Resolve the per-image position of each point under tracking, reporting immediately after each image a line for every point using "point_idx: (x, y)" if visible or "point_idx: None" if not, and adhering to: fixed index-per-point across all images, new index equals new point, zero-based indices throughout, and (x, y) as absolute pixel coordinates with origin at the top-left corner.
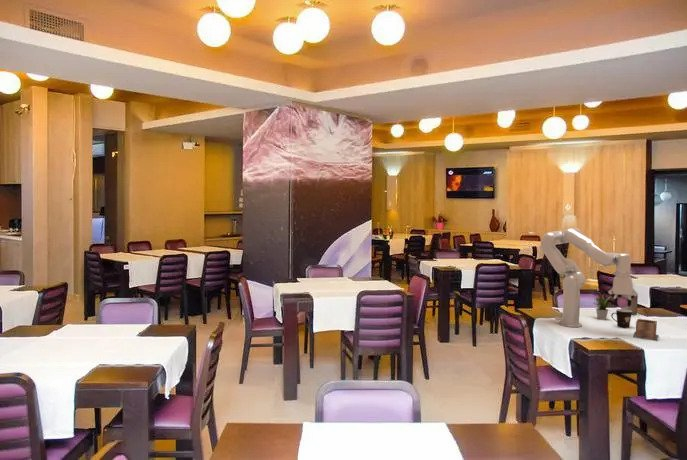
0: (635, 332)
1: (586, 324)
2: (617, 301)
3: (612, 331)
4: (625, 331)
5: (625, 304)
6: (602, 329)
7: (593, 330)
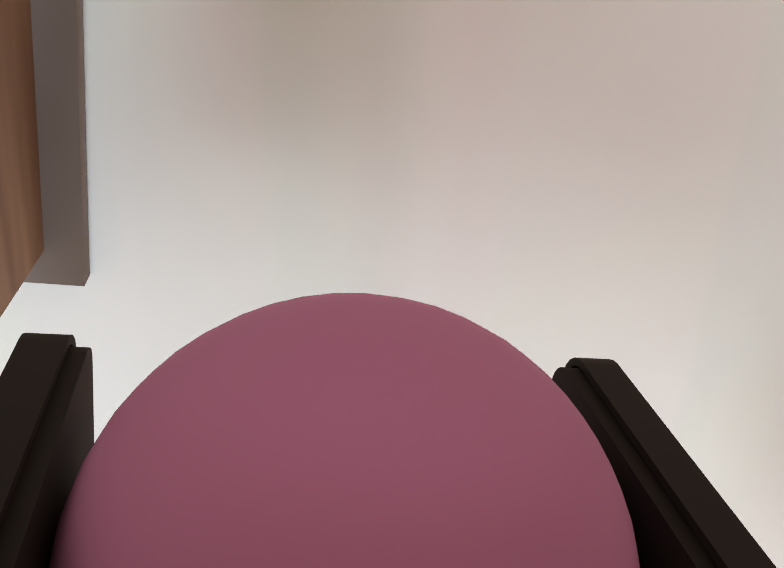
0: (67, 227)
1: (736, 441)
2: (616, 479)
3: (431, 202)
4: (237, 308)
5: (197, 340)
6: (568, 260)
7: (720, 114)
